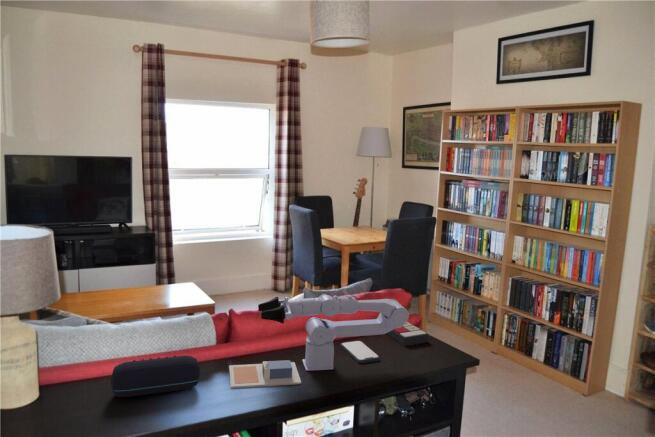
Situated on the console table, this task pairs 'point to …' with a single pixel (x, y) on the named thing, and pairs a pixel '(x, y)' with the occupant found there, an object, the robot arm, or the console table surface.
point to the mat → (258, 376)
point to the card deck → (277, 369)
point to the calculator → (408, 335)
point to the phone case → (360, 352)
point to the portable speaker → (155, 376)
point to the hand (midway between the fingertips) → (259, 311)
